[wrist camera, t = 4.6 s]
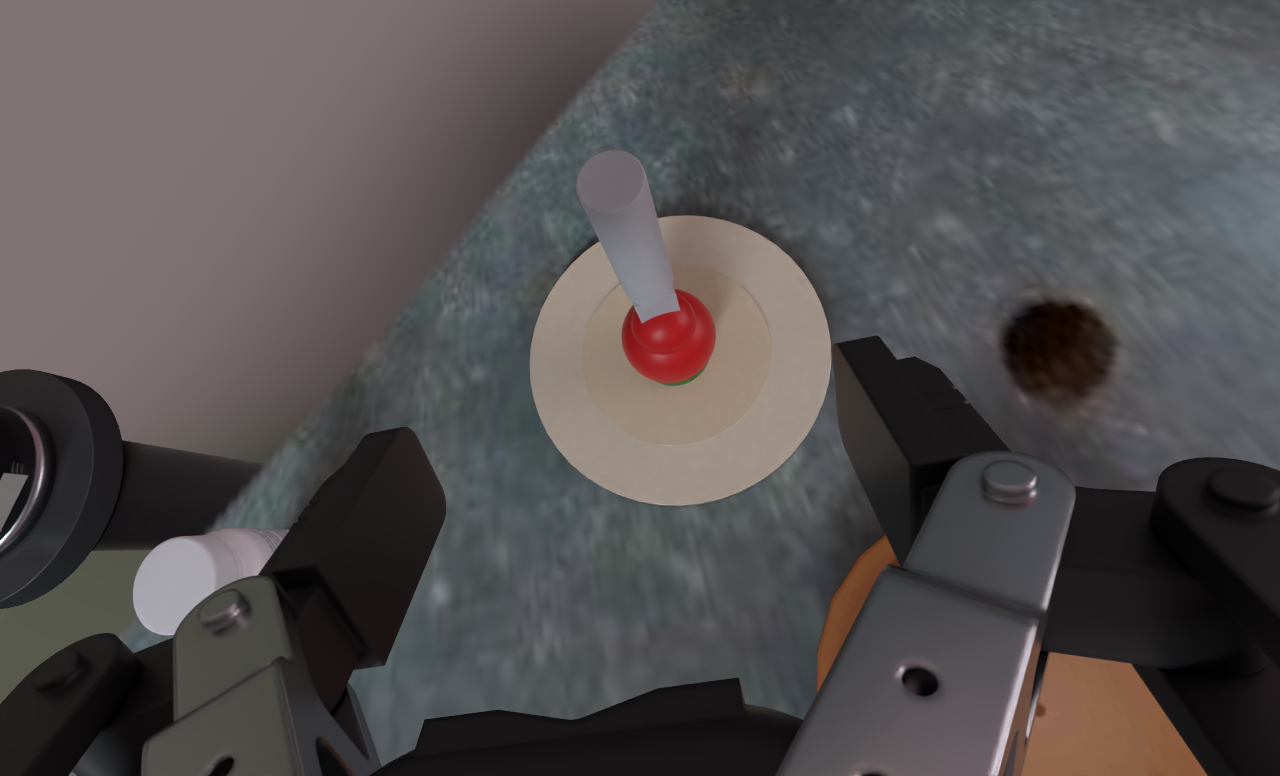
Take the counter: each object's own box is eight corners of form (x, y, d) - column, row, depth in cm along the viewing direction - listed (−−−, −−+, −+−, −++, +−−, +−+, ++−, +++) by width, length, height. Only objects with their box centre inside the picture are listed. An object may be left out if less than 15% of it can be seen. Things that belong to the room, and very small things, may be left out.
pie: (886, 448, 30) (912, 430, 26) (1239, 607, 27) (1347, 620, 22) (751, 749, 28) (752, 790, 23) (1113, 971, 24) (1203, 1076, 20)
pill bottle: (293, 518, 35) (157, 510, 27) (363, 547, 34) (243, 548, 26) (256, 601, 34) (104, 619, 26) (326, 634, 33) (190, 664, 25)
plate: (500, 468, 34) (493, 466, 33) (575, 205, 37) (571, 197, 36) (798, 540, 30) (800, 540, 29) (853, 243, 33) (856, 235, 32)
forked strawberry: (644, 405, 32) (552, 278, 17) (621, 326, 33) (515, 142, 18) (729, 377, 32) (714, 222, 16) (702, 298, 33) (664, 87, 18)
